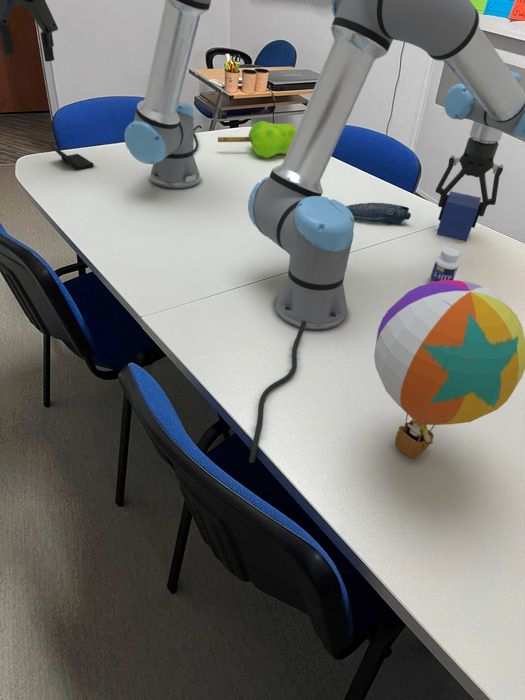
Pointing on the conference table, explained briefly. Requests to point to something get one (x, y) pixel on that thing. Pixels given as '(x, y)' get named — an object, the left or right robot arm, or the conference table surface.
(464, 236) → the block
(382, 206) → the fish model
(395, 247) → the conference table surface
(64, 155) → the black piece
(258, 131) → the decorative tree
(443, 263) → the pill bottle
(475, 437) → the conference table surface
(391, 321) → the toy
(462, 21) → the right robot arm
